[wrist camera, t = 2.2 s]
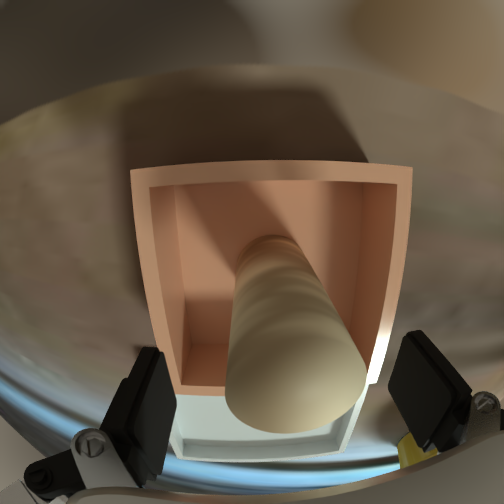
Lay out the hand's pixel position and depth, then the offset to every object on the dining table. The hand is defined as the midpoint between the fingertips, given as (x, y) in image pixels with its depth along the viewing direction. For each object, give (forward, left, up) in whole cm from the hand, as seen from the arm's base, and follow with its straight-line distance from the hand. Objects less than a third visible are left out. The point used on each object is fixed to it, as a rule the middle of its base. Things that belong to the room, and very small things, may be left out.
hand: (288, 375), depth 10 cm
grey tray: (+1, +17, -12) cm, 21 cm away
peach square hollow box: (0, 0, -12) cm, 12 cm away
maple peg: (0, 0, -11) cm, 11 cm away
